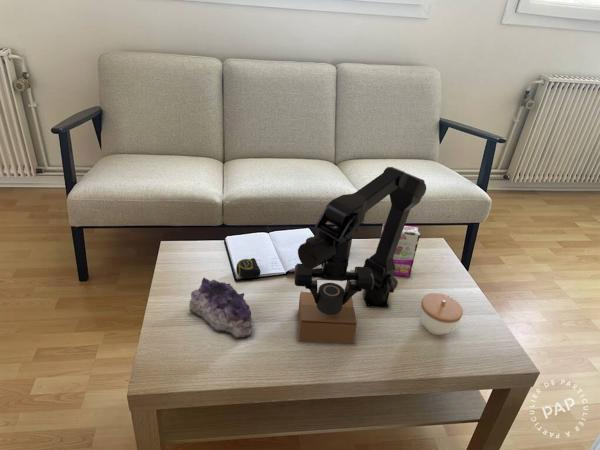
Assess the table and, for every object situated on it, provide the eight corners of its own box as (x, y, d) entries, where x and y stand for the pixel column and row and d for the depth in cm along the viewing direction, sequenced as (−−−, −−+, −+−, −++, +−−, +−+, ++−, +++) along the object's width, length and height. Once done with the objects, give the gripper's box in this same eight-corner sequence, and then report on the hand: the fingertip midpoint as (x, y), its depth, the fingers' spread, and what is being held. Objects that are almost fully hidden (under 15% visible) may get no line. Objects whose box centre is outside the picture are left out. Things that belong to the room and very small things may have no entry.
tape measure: (260, 279, 126) (261, 269, 125) (238, 282, 124) (238, 272, 122) (255, 266, 132) (256, 256, 130) (234, 268, 130) (234, 258, 128)
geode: (267, 322, 111) (267, 297, 105) (237, 351, 103) (234, 325, 97) (215, 287, 120) (211, 262, 114) (183, 311, 113) (178, 285, 107)
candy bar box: (407, 268, 137) (418, 226, 129) (409, 277, 133) (421, 234, 125) (374, 264, 138) (383, 222, 130) (374, 273, 134) (384, 230, 125)
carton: (298, 341, 106) (301, 320, 102) (298, 311, 115) (300, 291, 112) (352, 343, 106) (357, 322, 103) (347, 314, 116) (351, 294, 112)
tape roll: (340, 298, 107) (343, 282, 104) (343, 315, 101) (345, 299, 99) (315, 297, 107) (317, 281, 104) (317, 314, 101) (319, 298, 98)
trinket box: (449, 347, 108) (459, 321, 103) (410, 329, 112) (418, 303, 108) (459, 324, 116) (468, 298, 111) (422, 308, 121) (430, 283, 116)
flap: (300, 306, 107) (300, 305, 107) (300, 292, 112) (300, 291, 111) (353, 308, 108) (353, 307, 108) (351, 295, 112) (351, 294, 112)
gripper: (371, 235, 103) (361, 284, 111) (296, 231, 102) (292, 281, 110) (379, 261, 93) (368, 313, 101) (297, 257, 92) (292, 309, 100)
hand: (329, 303), depth 103 cm, fingers closed on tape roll, 6 cm apart
